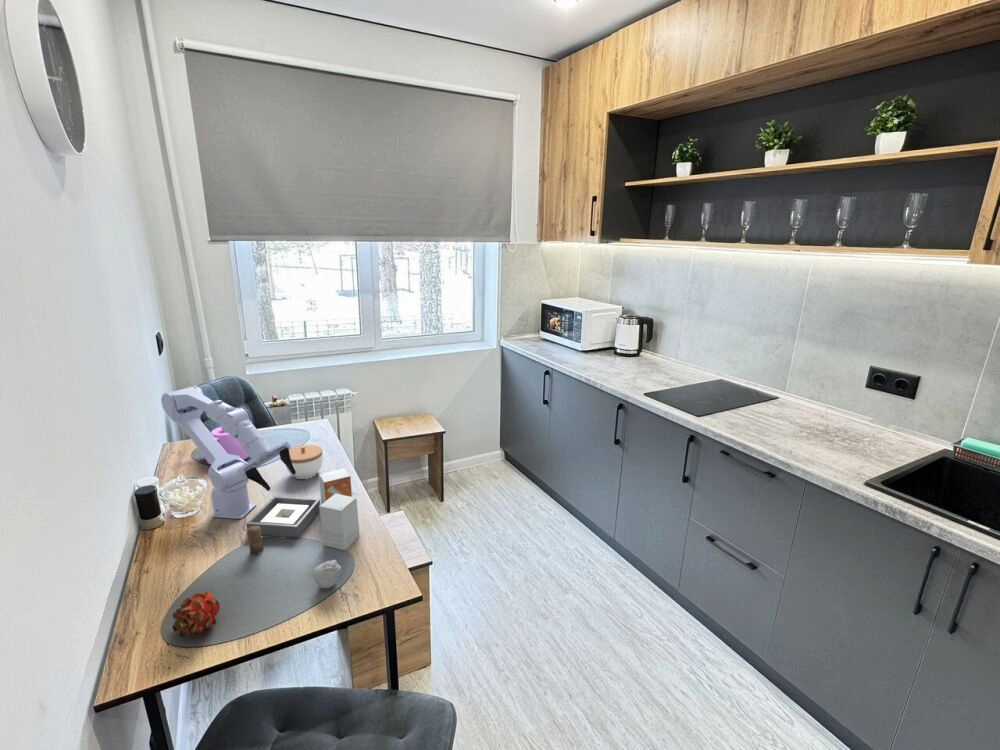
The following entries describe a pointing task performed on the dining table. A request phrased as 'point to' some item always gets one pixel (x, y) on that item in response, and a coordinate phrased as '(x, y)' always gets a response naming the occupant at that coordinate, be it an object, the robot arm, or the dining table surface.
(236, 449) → the teapot
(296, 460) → the lidded bowl
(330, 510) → the supplement box
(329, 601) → the dining table surface
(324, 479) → the small box
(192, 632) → the dragon fruit
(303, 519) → the square hole block
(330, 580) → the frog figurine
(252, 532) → the peg
